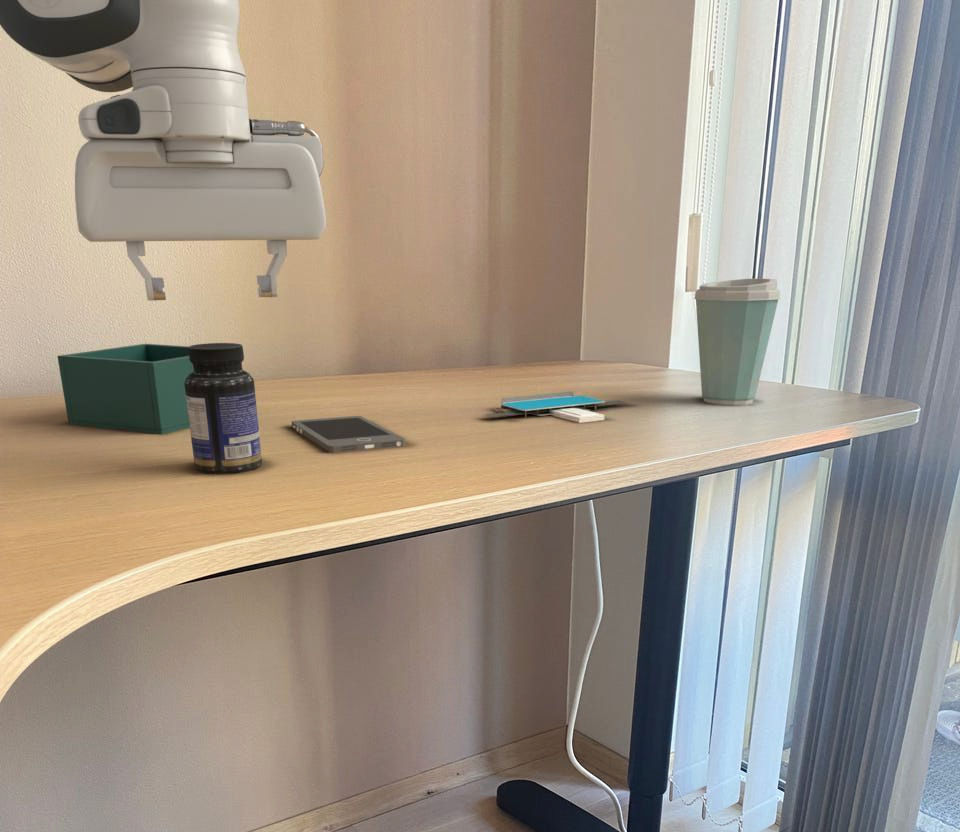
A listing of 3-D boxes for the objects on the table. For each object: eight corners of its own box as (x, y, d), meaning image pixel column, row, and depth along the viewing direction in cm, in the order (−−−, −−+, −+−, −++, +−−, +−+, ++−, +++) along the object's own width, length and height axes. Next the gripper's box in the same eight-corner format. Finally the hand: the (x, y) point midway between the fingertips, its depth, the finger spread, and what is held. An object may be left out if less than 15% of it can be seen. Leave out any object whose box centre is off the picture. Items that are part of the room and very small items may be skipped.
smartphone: (289, 427, 107) (288, 420, 106) (359, 421, 110) (359, 415, 110) (329, 453, 94) (328, 446, 94) (406, 446, 97) (406, 439, 97)
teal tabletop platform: (519, 431, 106) (520, 416, 105) (464, 414, 115) (464, 400, 114) (657, 414, 115) (658, 400, 115) (596, 400, 125) (597, 387, 124)
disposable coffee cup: (724, 412, 117) (737, 281, 111) (667, 399, 126) (676, 278, 120) (786, 405, 122) (802, 279, 116) (727, 393, 131) (739, 276, 125)
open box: (68, 425, 108) (57, 355, 105) (153, 406, 119) (145, 343, 116) (162, 435, 103) (152, 362, 100) (241, 415, 114) (235, 349, 111)
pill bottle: (267, 461, 92) (256, 341, 87) (256, 476, 86) (245, 349, 82) (202, 461, 91) (188, 341, 87) (187, 477, 86) (172, 349, 81)
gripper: (313, 125, 83) (324, 293, 89) (61, 117, 77) (90, 299, 82) (328, 117, 78) (339, 297, 83) (58, 109, 72) (89, 304, 77)
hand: (213, 298), depth 83 cm, fingers open, 8 cm apart
